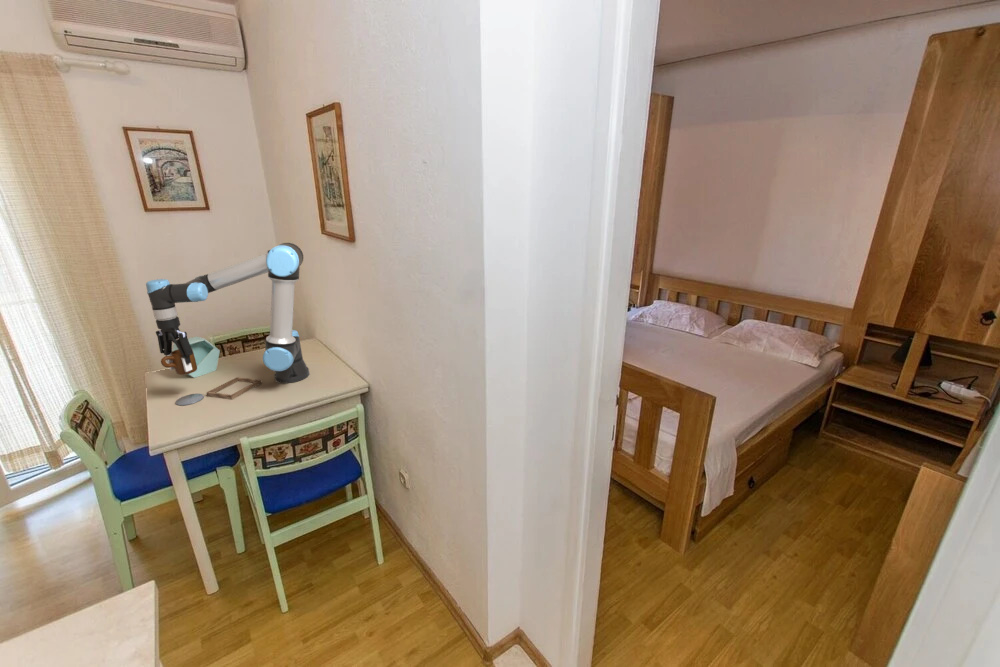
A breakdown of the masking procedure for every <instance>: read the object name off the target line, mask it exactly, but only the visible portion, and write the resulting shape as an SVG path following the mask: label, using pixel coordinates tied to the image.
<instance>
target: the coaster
mask: <svg viewBox="0 0 1000 667" xmlns="http://www.w3.org/2000/svg"><path fill="white" fill-rule="evenodd" d="M203 399H204V394H202V393H190V394H187V395H184V396H183V395H182V396H181V397H179V398H178V399H176V401H175V405H177V406H181V407H183V406H190V405H193V404H196V403H199V402H201V401H202V400H203Z"/></svg>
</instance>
